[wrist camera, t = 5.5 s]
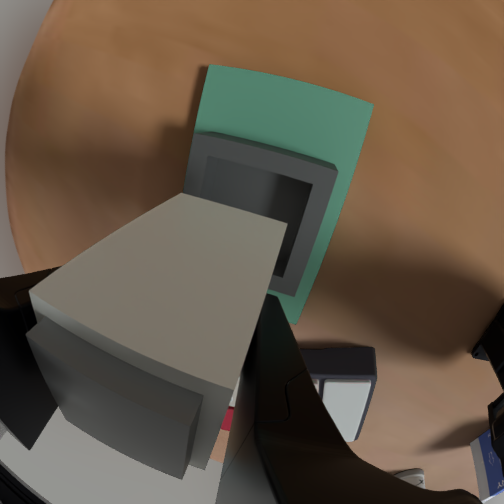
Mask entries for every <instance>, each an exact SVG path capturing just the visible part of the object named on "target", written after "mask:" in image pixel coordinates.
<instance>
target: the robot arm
mask: <svg viewBox="0 0 504 504" xmlns="http://www.w3.org/2000/svg"><path fill="white" fill-rule="evenodd" d="M60 267H62V266H59V267H55V268H52V269H46V270H42V271H37V272H33V273H28V274H22V275H17V276H11V277H5V278H0V439H1V438H2V436H3V435H4V434H5V433H6V431H8V432H9V433H10V434H11V435H12V436H13V437H15V439H17V440H18V441H19V442H20V443H21V444H22V445H23V446H25V447H26V448H27V449H28V450H30V449H31V448H32V447H33V445H34V443H35V442H36V440H37V439H38V437H39V435H40V434H41V432H42V431H43V429H44V427H45V426H46V424H47V423H48V421H49V420H50V418H51V417H52V415H53V413H54V412H55V410H56V409H57V407H58V405H57V403H56V401H55V399H54V397H53V395H52V393H51V391H50V389H49V387H48V385H47V383H46V381H45V379H44V377H43V375H42V373H41V371H40V369H39V366H38V364H37V362H36V359H35V357H34V355H33V352H32V350H31V347H30V345H29V342H28V340H27V337H26V333H27V332H29V331H30V330H31V329H32V328H33V327H34V326H35V325H36V324H37V320H36V316H35V313H34V309H33V306H32V302H31V298H30V294H29V290H30V289H32V288H33V287H34V286H36V285H37V284H38V283H40V282H41V281H42V280H44V279H45V278H46V277H48V276H49V275H51V274H52V273H53V272H55V271H56V270H57V269H59V268H60ZM471 355H472V357H473V358H475V359H480V360H485V361H489V362H490V364H491V366H492V368H493V370H494V372H495V373H496V376H497V378H498V380H499V382H500V385H501V387H502V389H503V391H504V305H503V306H502V308H501V310H500V311H499V313H498V314H497V316H496V318H495V319H494V321H493V322H492V324H491V325H490V327H489V328H488V330H487V331H486V333H485V334H484V335H483V337H482V338H481V340H480V341H479V342H478V344H477V345H476V346H475V348H474V349H473V350H472V352H471ZM488 416H489V424H490V434H491V446H492V448H493V451H494V452H495V453H496V455H497V456H498V458H499V459H500V462H501V467H502V475H503V477H504V392H503V393H502V394H501V395H500V396H499V397H498V398H497V399H496V400H495V401H494V402H491V403H490V404H489V405H488ZM220 480H221V481H220V483H219V488H218V493H217V498H216V503H215V504H483V503H482V502H481V501H480V500H479V498H478V497H476V496H475V495H473V494H471V493H469V492H468V491H465V490H463V489H454V490H448V491H432V490H428V489H424V488H421V487H418V486H415V485H413V484H411V483H409V482H406V481H404V480H402V479H400V478H398V477H395V476H393V475H391V474H389V473H387V472H385V471H383V470H381V469H379V468H377V467H375V466H373V465H371V464H369V463H368V462H366V461H364V460H362V459H361V458H359V457H358V456H357V455H356V454H355V453H354V452H353V451H352V450H351V449H350V447H349V446H348V445H347V443H346V441H345V440H344V438H343V436H342V435H341V433H340V431H339V429H338V428H337V426H336V424H335V423H334V421H333V419H332V417H331V416H330V414H329V412H328V410H327V409H326V407H325V405H324V403H323V401H322V399H321V398H320V396H319V394H318V392H317V389H316V387H315V385H314V383H313V381H312V378H311V376H310V373H309V371H308V370H307V366H306V364H305V361H304V359H303V356H302V354H301V351H300V349H299V347H298V344H297V342H296V339H295V337H294V334H293V332H292V330H291V327H290V325H289V322H288V320H287V317H286V315H285V313H284V310H283V308H282V305H281V303H280V300H279V298H278V297H277V296H275V295H272V294H268V293H266V296H265V299H264V302H263V305H262V308H261V311H260V314H259V318H258V321H257V324H256V327H255V330H254V333H253V336H252V339H251V342H250V345H249V348H248V351H247V354H246V357H245V360H244V363H243V366H242V370H241V375H240V380H239V386H238V391H237V396H236V402H235V407H234V412H233V417H232V422H231V428H230V433H229V438H228V443H227V448H226V453H225V458H224V463H223V468H222V474H221V479H220ZM0 504H51V503H50V502H49V501H48V500H46V499H45V498H44V497H42V496H41V495H40V494H38V493H37V492H36V491H35V490H33V489H32V488H31V487H30V486H28V485H27V484H26V483H25V482H24V481H23V480H21V479H20V478H19V477H18V476H17V475H16V474H14V473H13V472H12V471H11V470H10V469H9V468H8V467H7V466H6V465H5V464H4V463H3V462H2V461H1V460H0Z"/></svg>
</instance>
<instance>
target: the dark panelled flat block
mask: <svg viewBox="0 0 504 504" xmlns="http://www.w3.org/2000/svg"><path fill="white" fill-rule="evenodd" d="M300 351H301V354H302V356H303V359H304V361H305V364H306V366H307V370H308V371H309V373H310V376H311V378H312V381H313V383H314V385H315V387H316V389H317V392H318V394H319V396H320V398H321V399H322V401H323V403H324V405H325V407H326V409H327V410H328V412H329V414H330V416H331V417H332V419H333V421H334V423H335V424H336V426H337V428H338V429H339V431H340V433H341V435H342V436H343V438H344V440H345V441H346V442H352V441H354V440H357V439H358V437H359V434H360V432H361V429H362V426H363V423H364V420H365V417H366V414H367V411H368V408H369V405H370V401H371V398H372V395H373V391H374V388H375V384H376V381H377V368H376V356H375V349H374V348H373V347H354V348H326V349H323V350H310V349H300ZM241 370H242V369H241ZM240 375H241V372H240ZM240 375H239V378H238V381H237V384H236V387H235V390H234V392H233V395H232V398H231V401H230V404H229V406H228V409H227V412H226V415H225V417H224V420H223V423H222V426H221V429H223V430H227V431H230V428H231V422H232V417H233V412H234V407H235V402H236V396H237V391H238V386H239V380H240Z"/></svg>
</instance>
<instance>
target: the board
mask: <svg viewBox="0 0 504 504" xmlns="http://www.w3.org/2000/svg"><path fill="white" fill-rule="evenodd" d="M373 106H374V104H371V103H369V102H366V101H363V100H360V99H358V98H355V97H352V96H349V95H346V94H343V93H340V92H337V91H334V90H330V89H327V88H324V87H320V86H317V85H313V84H309V83H306V82H302V81H298V80H294V79H290V78H286V77H281V76H277V75H272V74H267V73H262V72H257V71H252V70H246V69H240V68H233V67H226V66H219V65H211V64H209V68H208V72H207V76H206V80H205V84H204V88H203V92H202V97H201V101H200V105H199V110H198V115H197V119H196V124H195V129H194V134H193V139H192V144H191V149H190V155H189V160H188V166H187V171H186V177H185V183H184V189H183V193H184V194H188V195H191V196H195V197H199V198H202V199H206V200H209V201H213V202H216V203H220V204H223V205H227V206H230V207H234V208H237V209H241V210H244V211H248V212H251V213H254V214H258V215H261V216H264V217H268V218H271V219H274V220H277V221H281V222H284V223H287V227H286V231H285V234H284V237H283V241H282V244H281V247H280V251H279V254H278V257H277V260H276V264H275V267H274V270H273V273H272V277H271V280H270V283H269V286H268V289H267V293H268V294H272V295H275V296H277V297H278V298H279V300H280V303H281V305H282V308H283V310H284V313H285V315H286V317H287V320H288V322H289V323H292V324H295V325H296V324H297V321H298V319H299V317H300V314H301V312H302V310H303V307H304V305H305V303H306V300H307V298H308V295H309V293H310V291H311V288H312V286H313V283H314V281H315V278H316V276H317V273H318V271H319V268H320V266H321V263H322V261H323V258H324V255H325V253H326V250H327V248H328V245H329V242H330V240H331V237H332V234H333V232H334V229H335V226H336V223H337V220H338V218H339V215H340V212H341V209H342V206H343V203H344V201H345V198H346V195H347V192H348V189H349V186H350V183H351V180H352V177H353V174H354V171H355V167H356V164H357V161H358V158H359V155H360V151H361V148H362V145H363V141H364V138H365V135H366V131H367V128H368V124H369V121H370V117H371V114H372V110H373Z"/></svg>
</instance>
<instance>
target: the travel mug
mask: <svg viewBox="0 0 504 504" xmlns="http://www.w3.org/2000/svg"><path fill="white" fill-rule="evenodd" d="M394 476H395V477H398V478H400V479H402V480H404V481H406V482H409V483H411V484H413V485H415V486H418V487H421V488H424V489H425V482H424V471H423V470H421V469H411V470H407V471H403V472H400V473H398V474H396V475H394Z"/></svg>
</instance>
